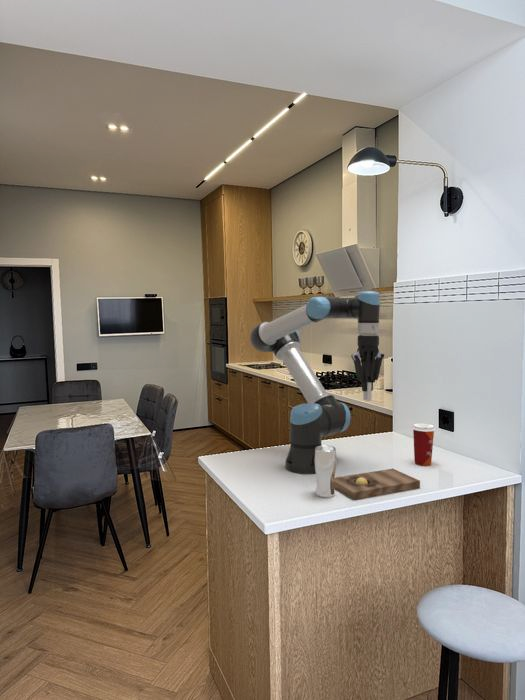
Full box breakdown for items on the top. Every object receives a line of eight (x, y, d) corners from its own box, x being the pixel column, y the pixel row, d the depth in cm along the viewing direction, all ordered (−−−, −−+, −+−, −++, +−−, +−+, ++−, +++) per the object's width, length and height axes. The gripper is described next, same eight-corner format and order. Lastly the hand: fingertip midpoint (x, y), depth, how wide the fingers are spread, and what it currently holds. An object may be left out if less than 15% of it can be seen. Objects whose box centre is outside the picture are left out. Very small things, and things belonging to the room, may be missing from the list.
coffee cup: (435, 467, 183) (436, 428, 182) (412, 466, 185) (413, 427, 184) (432, 461, 191) (433, 423, 190) (410, 459, 193) (411, 422, 192)
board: (353, 500, 152) (353, 492, 151) (330, 485, 164) (330, 478, 164) (419, 488, 162) (420, 480, 162) (392, 475, 175) (392, 468, 175)
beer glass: (321, 488, 162) (322, 444, 160) (340, 493, 157) (340, 447, 156) (310, 494, 156) (310, 448, 155) (328, 500, 152) (329, 452, 151)
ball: (352, 488, 160) (355, 476, 160) (355, 486, 163) (358, 474, 163) (364, 492, 158) (367, 480, 158) (367, 490, 162) (370, 478, 162)
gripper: (359, 335, 169) (358, 403, 171) (389, 335, 174) (388, 400, 176) (347, 334, 176) (346, 399, 178) (376, 334, 181) (375, 397, 183)
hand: (367, 400), depth 177 cm, fingers closed
